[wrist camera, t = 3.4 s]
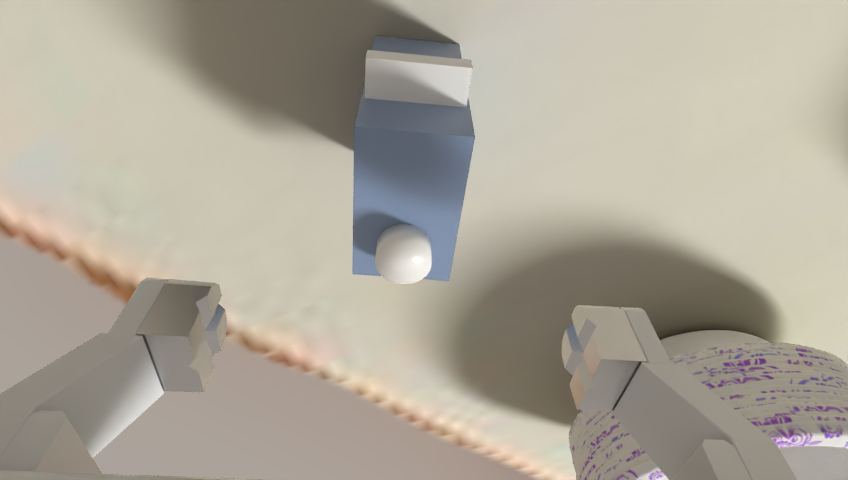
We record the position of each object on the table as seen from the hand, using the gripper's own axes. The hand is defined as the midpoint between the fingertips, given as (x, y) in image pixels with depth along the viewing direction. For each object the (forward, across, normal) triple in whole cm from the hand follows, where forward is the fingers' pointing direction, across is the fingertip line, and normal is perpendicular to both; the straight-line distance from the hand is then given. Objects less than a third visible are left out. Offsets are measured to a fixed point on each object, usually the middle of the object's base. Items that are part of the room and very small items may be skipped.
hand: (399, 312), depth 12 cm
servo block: (+10, 0, 0) cm, 10 cm away
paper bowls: (+11, -18, +16) cm, 26 cm away
